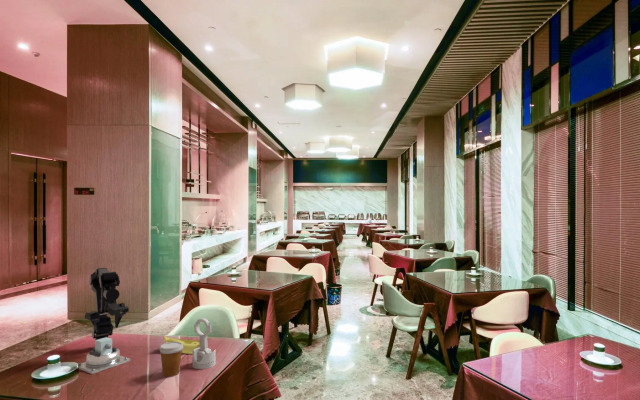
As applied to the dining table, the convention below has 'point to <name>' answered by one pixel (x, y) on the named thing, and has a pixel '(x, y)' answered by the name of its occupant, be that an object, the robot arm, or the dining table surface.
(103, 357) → the metal mounting base
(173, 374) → the disposable coffee cup
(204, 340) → the engine component
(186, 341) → the plastic component
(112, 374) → the dining table surface
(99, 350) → the block with peg
